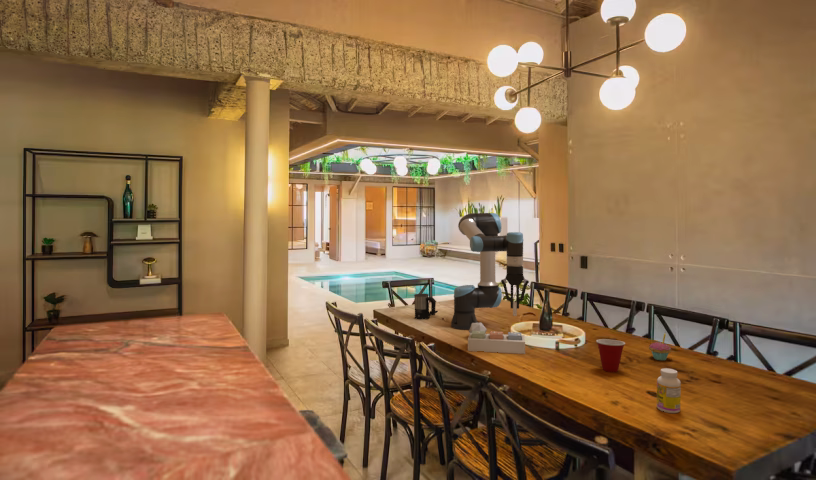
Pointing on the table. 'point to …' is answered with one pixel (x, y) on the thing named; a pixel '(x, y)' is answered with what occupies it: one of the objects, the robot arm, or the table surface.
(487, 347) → the keypad housing
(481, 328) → the die
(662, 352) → the cupcake
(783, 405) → the table surface
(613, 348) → the plastic cup
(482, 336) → the sage tile
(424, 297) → the milk frother
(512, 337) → the slate tile
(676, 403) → the supplement bottle
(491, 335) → the terracotta tile
